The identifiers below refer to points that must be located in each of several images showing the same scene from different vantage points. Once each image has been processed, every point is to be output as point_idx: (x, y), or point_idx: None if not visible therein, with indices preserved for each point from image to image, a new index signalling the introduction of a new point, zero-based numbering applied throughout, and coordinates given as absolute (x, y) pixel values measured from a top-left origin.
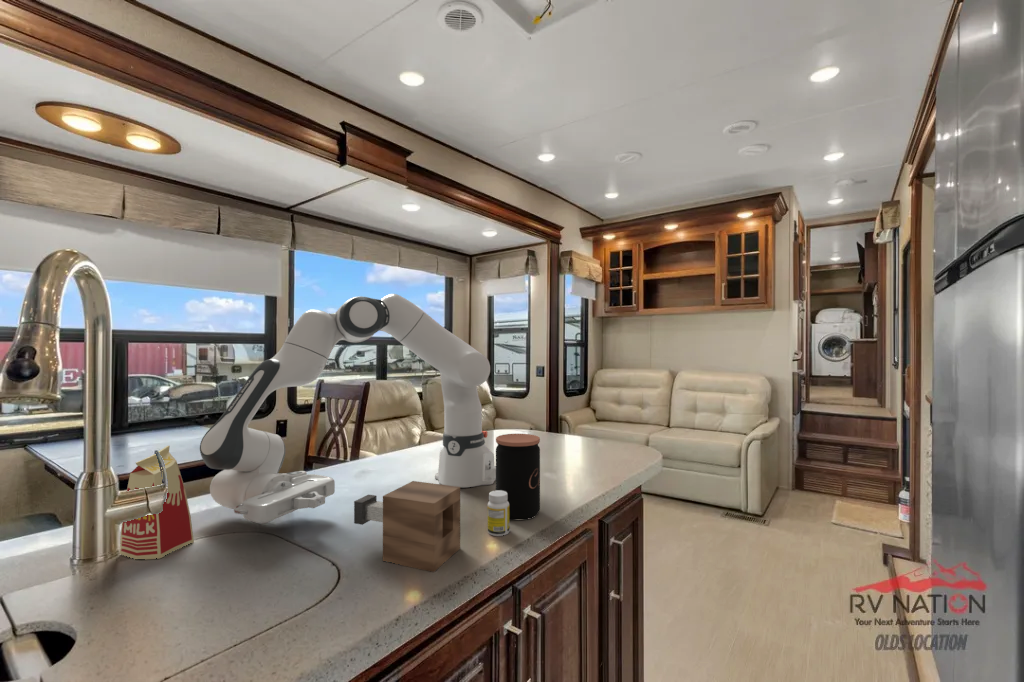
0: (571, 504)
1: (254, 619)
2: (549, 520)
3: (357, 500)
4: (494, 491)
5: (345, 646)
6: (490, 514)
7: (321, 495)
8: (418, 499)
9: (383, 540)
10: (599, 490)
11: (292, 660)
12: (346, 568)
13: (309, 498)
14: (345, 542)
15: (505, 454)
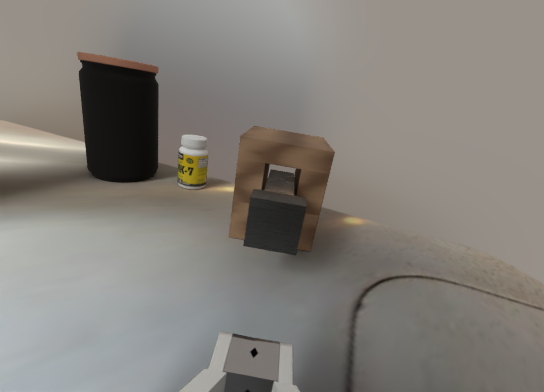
0: None
1: (536, 328)
2: None
3: (298, 204)
4: (187, 137)
5: (443, 240)
6: (204, 163)
7: (219, 346)
8: (320, 140)
9: (317, 222)
10: (63, 138)
11: (493, 262)
12: (355, 283)
13: (283, 384)
14: (268, 328)
15: (150, 86)
